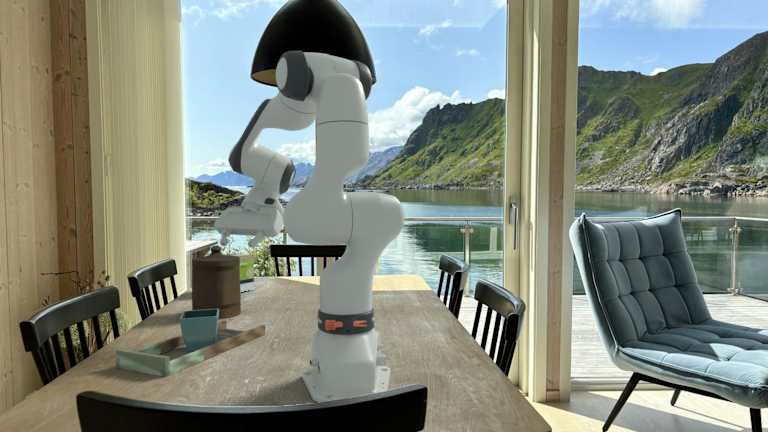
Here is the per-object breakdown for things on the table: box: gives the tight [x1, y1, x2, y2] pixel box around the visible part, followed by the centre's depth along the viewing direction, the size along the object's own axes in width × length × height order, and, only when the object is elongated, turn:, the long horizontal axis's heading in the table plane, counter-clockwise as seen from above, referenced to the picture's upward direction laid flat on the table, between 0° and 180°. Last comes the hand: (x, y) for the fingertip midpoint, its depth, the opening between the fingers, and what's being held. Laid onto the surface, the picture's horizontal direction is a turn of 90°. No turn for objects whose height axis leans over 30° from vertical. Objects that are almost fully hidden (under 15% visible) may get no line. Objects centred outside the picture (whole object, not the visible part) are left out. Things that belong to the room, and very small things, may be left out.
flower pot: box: [179, 309, 219, 353], centre depth 132 cm, size 9×9×9 cm
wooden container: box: [191, 245, 242, 319], centre depth 169 cm, size 15×15×22 cm
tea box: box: [223, 252, 255, 293], centre depth 205 cm, size 15×10×15 cm, turn 150°
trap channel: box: [115, 320, 266, 378], centre depth 131 cm, size 36×14×4 cm, turn 157°
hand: (236, 245), depth 144 cm, fingers open, 8 cm apart
